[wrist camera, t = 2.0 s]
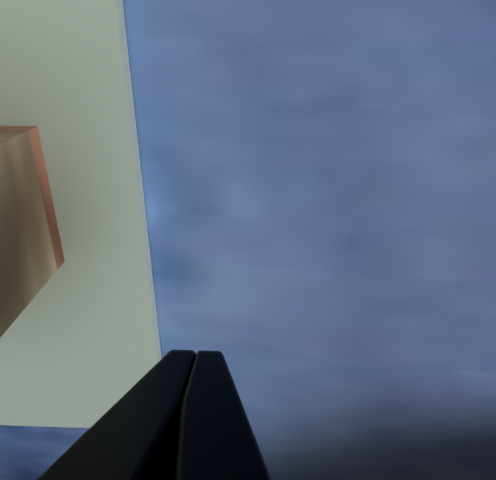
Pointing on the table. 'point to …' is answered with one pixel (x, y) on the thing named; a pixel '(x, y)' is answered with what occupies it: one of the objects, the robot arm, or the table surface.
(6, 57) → the sage mat
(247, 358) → the table surface
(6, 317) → the maple block
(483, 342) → the table surface
